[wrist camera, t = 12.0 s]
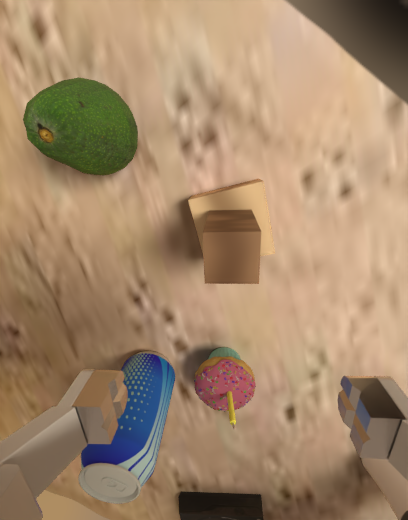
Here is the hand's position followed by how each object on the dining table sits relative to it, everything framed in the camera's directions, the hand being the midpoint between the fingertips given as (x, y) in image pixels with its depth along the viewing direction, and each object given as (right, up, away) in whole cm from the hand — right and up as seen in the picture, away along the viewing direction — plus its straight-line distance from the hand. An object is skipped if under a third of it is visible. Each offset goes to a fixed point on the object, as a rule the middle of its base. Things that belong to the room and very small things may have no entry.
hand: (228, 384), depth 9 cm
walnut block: (+2, +8, +18) cm, 20 cm away
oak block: (+3, +10, +22) cm, 24 cm away
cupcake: (+2, -11, +30) cm, 32 cm away
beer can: (-9, -13, +31) cm, 35 cm away
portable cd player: (+3, -52, +46) cm, 69 cm away
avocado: (-11, +19, +19) cm, 29 cm away
